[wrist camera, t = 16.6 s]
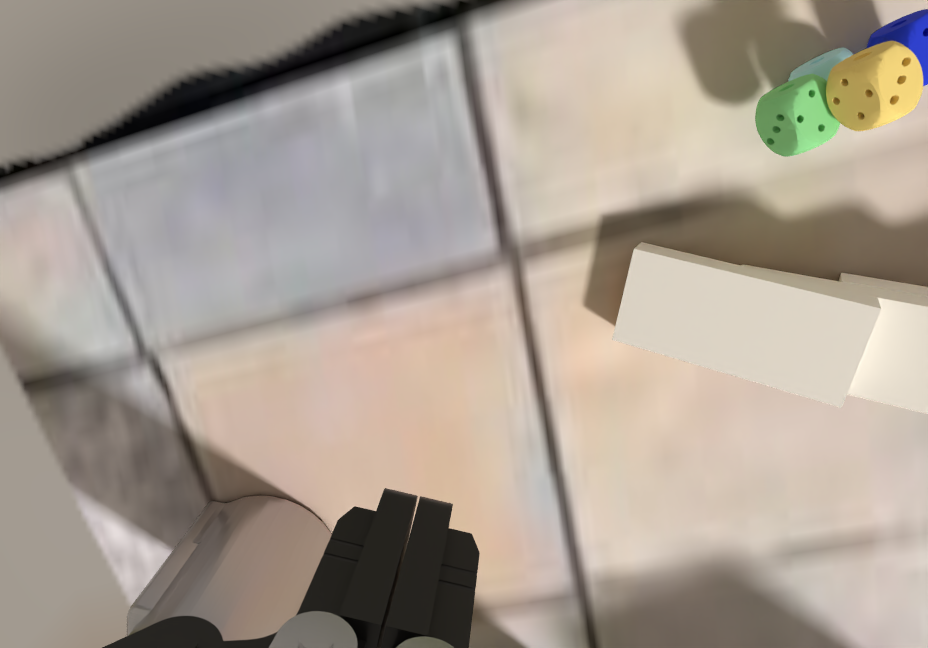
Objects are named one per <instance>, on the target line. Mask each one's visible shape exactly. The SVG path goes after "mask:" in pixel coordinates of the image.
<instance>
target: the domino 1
mask: <svg viewBox="0 0 928 648" xmlns="http://www.w3.org/2000/svg"><path fill="white" fill-rule="evenodd" d="M880 311H881V306H880V303H879V300H878V298H875V297H871V296H867V295H863V294H858V293H854V292H850V291H846V290H842V289H837V288H833V287H829V286H825V285H820V284H816V283H812V282H808V281H804V280H799V279H795V278H791V277H787V276H783V275H778V274H774V273H770V272H766V271H761V270H757V269H753V268H749V267H745V266H740V265H736V264H732V263H728V262H724V261H719V260H715V259H711V258H707V257H703V256H698V255H694V254H690V253H686V252H681V251H677V250H673V249H669V248H665V247H660V246H656V245H652V244H648V243H644V242H641V243H640V244H639V245H638V246H636V247H635V248H634V250H633V254H632V259H631V263H630V267H629V271H628V275H627V279H626V284H625V288H624V292H623V296H622V300H621V305H620V309H619V313H618V317H617V321H616V326H615V330H614V334H613V338H612V340H614V341H617V342H621V343H624V344H627V345H631V346H634V347H638V348H641V349H644V350H648V351H651V352H654V353H658V354H661V355H665V356H668V357H671V358H675V359H678V360H681V361H685V362H688V363H691V364H695V365H698V366H702V367H705V368H708V369H712V370H715V371H718V372H722V373H725V374H728V375H732V376H735V377H739V378H742V379H745V380H749V381H752V382H755V383H759V384H762V385H765V386H769V387H772V388H776V389H779V390H782V391H786V392H789V393H792V394H796V395H799V396H802V397H806V398H809V399H813V400H816V401H819V402H823V403H826V404H829V405H833V406H836V407H839V408H842V406H843V403H844V401H845V398H846V396H847V393H848V391H849V388H850V386H851V383H852V381H853V378H854V376H855V373H856V371H857V368H858V366H859V363H860V361H861V358H862V356H863V353H864V351H865V348H866V346H867V343H868V341H869V338H870V336H871V333H872V331H873V328H874V326H875V323H876V321H877V318H878V316H879V313H880Z"/></svg>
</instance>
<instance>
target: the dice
mask: <svg viewBox="0 0 928 648" xmlns="http://www.w3.org/2000/svg"><path fill="white" fill-rule="evenodd" d="M927 84H928V9H925V10H921V11H917V12H914V13H912V14H909V15H906V16H904V17H902V18H900V19H897V20H895V21H893V22H891V23H889V24H887V25H885V26H884V27H882V28H880V29H878V30H877V31H875V32H874V33H873V34H872V35H871V36H870V39H869V41H868V45H867V49H864V50H862V51H860V52H858V53H856V54H854V55H853V53H852V52H851V51H850V50H848V49H846V48H843V47H842V48H838V49H834V50H832V51H829V52H827V53H824V54H822V55H820V56H818V57H816V58H814V59H812V60H810V61H808V62H806V63H804V64H803V65H801V66H799V67H798V68H796V69H795V70H794V71H792V72H791V74H790V77H789V80H788V82H787V83H784V84H782V85H780V86H778V87H777V88H775V89H773V90H771V91H770V92H768V93H767V94H765V95H764V96H762V97H761V98H760V100H759V102H758V105H757V108H756V116H755V121H756V127H757V130H758V133H759V135H760V137H761V139H762V140H763V142H764V143H765V144H766V145H767V147H768V148H769V149H771V150H772V151H773V152H775V153H777V154H779V155H781V156H793V155H797V154H800V153H803V152H806V151H809V150H811V149H813V148H816V147H818V146H820V145H822V144H823V143H825V142H827V141H828V140H830V139H831V138H832V137H833V136H834V135H835V134H836V132H837V130H838V128H839V125H840V123H841V124H842V125H844V126H845V127H847V128H849V129H851V130H854V131H865V130H870V129H873V128H877V127H880V126H883V125H885V124H888V123H890V122H892V121H895V120H897V119H899V118H901V117H903V116H904V115H906V114H908V113H909V112H911V111H912V110H913V109H914V108H915V107H916V105H917V103H918V101H919V99H920V97H921V94H922V90H923V86H925V85H927Z"/></svg>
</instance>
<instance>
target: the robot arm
mask: <svg viewBox="0 0 928 648" xmlns="http://www.w3.org/2000/svg"><path fill="white" fill-rule="evenodd" d="M416 502H417V496H416V495H412V494H408V493H403V492H399V491H395V490H390V489H386V488H385V489H384V491H383V494H382V497H381V500H380V502H379V505H378V508H377V511H372V510H368V509H364V508H360V507H353V508H352V509H351V510H350V511H348V512H347V513H346V514H345V515H343V516H342V517H341V518H340V519H339V520H338V521H337V524H336V526H335V528H334V531H333V533H332V534H331V533H330V531H329V530H328V529H327V527H326V526H325V525H324V523H323V522H322V521H320V520H319V519H318V518H317V517H316V516H315V515H314V514H313V513H311V512H310V511H308V510H306V509H305V508H303V507H302V506H300V505H298V504H295V503H293V502H291V501H288V500H286V499H281V498H277V497H273V496H250V497H243V498H240V499H238V500H235V501H232V502H229V503H220V502H215V501H210V502H209V503H208V505H207V506H206V507H205V509H204V510H203V511H202V513H201V514H200V515H199V517H198V518H197V519H196V521H195V522H194V523H193V525H192V526H191V527H190V529H189V530H188V531H187V533H186V534H185V535H184V536H183V538H182V539H181V540H180V542H179V543H178V544H177V546H176V547H175V548H174V550H173V551H172V552H171V554H170V555H169V556H168V558H167V559H166V560H165V562H164V563H163V564H162V566H161V567H160V568H159V570H158V571H157V572H156V574H155V575H154V576H153V578H152V579H151V580H150V582H149V583H148V584H147V586H146V587H145V588H144V590H143V591H142V592H141V594H140V595H139V596H138V598H137V599H136V600H135V602H134V603H133V604H132V606H131V607H130V609H129V612H128V616H127V637H125V638H122V639H120V640H118V641H116V642H114V643H112V644H110V645H107V646H105V647H103V648H469V639H470V631H471V622H472V613H473V605H474V596H475V587H476V579H477V570H478V561H479V550H478V548H477V545H476V543H475V541H474V538H473V536H472V534H471V533H467V532H462V531H458V530H454V529H450V528H448V527H449V522H450V517H451V511H452V506H453V504H451V503H447V502H442V501H438V500H434V499H430V498H425V497H421V496H420V499H419V503H418V507H417V510H416V514H415V518H414V522H413V525H412V520H413V516H414V511H415V506H416ZM411 525H412V529H411ZM410 530H411V533H410ZM409 534H410V536H409ZM408 539H409V540H408Z"/></svg>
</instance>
